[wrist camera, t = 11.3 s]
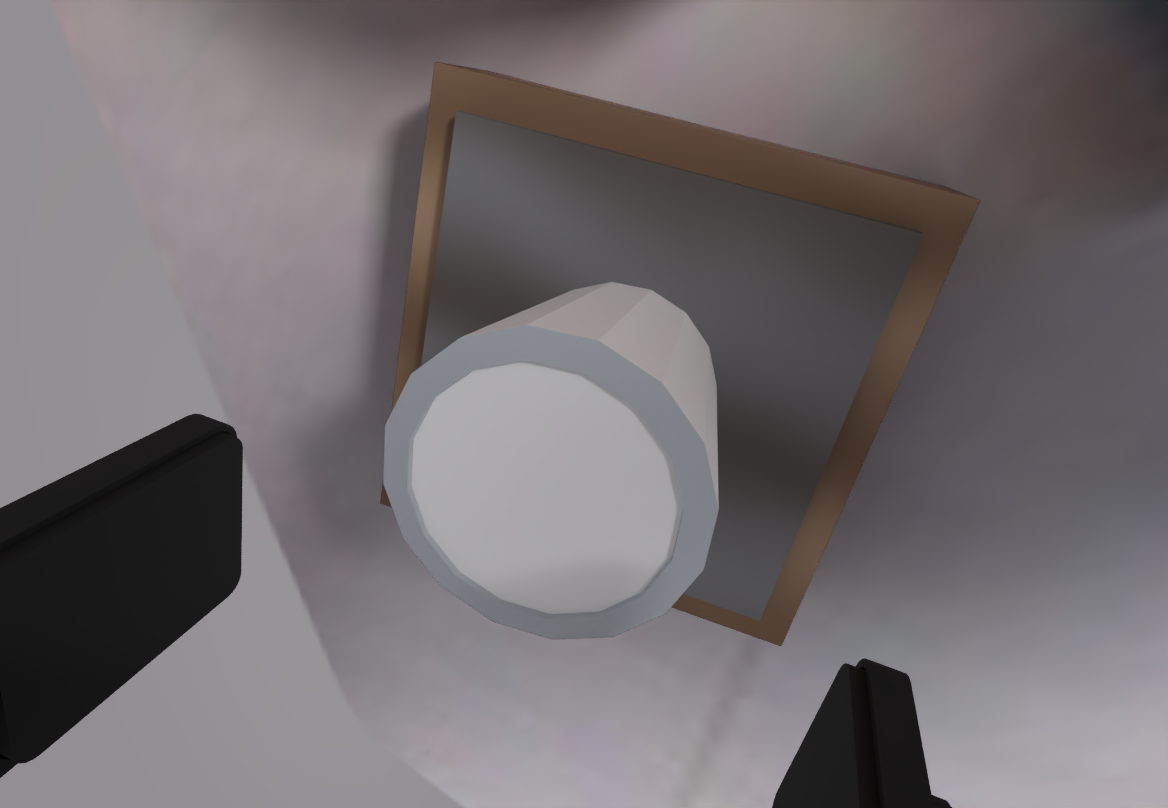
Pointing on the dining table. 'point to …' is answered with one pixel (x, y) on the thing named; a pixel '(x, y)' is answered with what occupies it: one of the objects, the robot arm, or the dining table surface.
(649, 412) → the shot glass
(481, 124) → the tray
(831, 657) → the dining table surface
